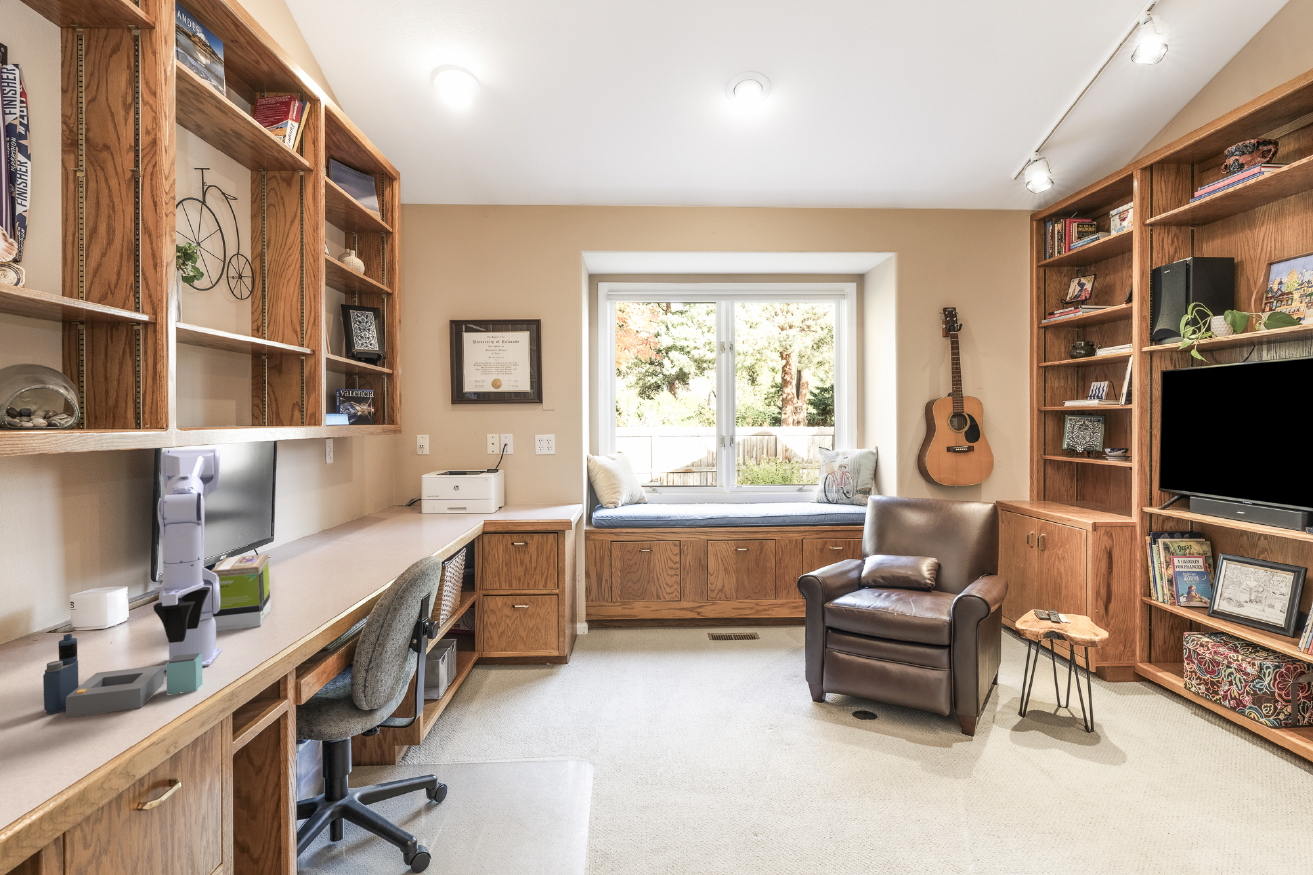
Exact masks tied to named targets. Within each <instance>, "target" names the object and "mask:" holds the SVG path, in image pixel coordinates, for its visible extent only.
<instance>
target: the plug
mask: <svg viewBox="0 0 1313 875" xmlns="http://www.w3.org/2000/svg"><path fill="white" fill-rule="evenodd" d="M165 665H166V695H167V694H172V695H177V694H176V693H180V692H188V693H195V692H194V691H196V692H198V690H199V687H200V688H201V687H202V685H203V666H202V654H199V653H196V654H187V655H178V656H174V657H173V658H172V659H171V660H170V661H169V660H168V661H167V662H166V663H165ZM192 691H193V692H192ZM180 694H181V693H180Z"/></svg>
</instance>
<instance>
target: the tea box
mask: <svg viewBox="0 0 1313 875" xmlns="http://www.w3.org/2000/svg"><path fill="white" fill-rule="evenodd" d="M269 558H270V557H269V554H268V553H267V554H258V555H257V554H256V555H243V556H231V557H224V558H223V559H222V560H221V561H220V562H219V563H217V565H216V566H215V567H213V568H212V569H210V571H211V572H213V573H215V574H217V577H219V585H220V610H219V611H218V612H217V613H216V614H214V613H213V618H214V619H215V622H216V633H217V632H225V631H232V630H244V629H250V628H251V629H252V628H257V627H258V628H259V627H261V626H262V624H263V623H264V621H265V619H266V618H267V616H268V615H269V612H270V611H271V609H272V608H271V606H272V605H271V587H270V586H271V584H270V559H269Z"/></svg>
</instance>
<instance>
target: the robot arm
mask: <svg viewBox="0 0 1313 875" xmlns="http://www.w3.org/2000/svg"><path fill="white" fill-rule="evenodd" d="M220 460H221V459H220V451H219V449H217V448H212V449H171V450H170V449H164V451H162V453H161V459H160V465H161V466H160V468H161V476H162V478H163V479H162V481H163V486H164V488H165V493H164V497H159V499H158V503H157V520H158V524H159V530H160V538H162V541H161V544H162V546H161V547H162V582H161V583H160V585H157V586H154V591H155V592H159V594H158V602H157V603H155V604H154V605H153V612H155V614H156V615H157V616H158V618H159V620H160V621H161V622H162V625H163V627H164V632H165V634H166V638H167V641H168V662H169V661H170V660H171V659H172V658H173V657H174V656H178V655H187V654H196V653H199V654H202V667H208V666H210V665H211V664H212V663H213V662H214V661H215V659H216V658H217V657H218V656H219V655H220V653H222V651H223V649H222V648H221V647H219V648H217V632H216V622H215V619H214V618H213V613H214V614H216V613H217V612H218V611H219V610H220V585H219V577H217V574H215V573H213V572H211V570H209V569H208V568H206V567H204V566H205V565H204V564H205V563H204V562H205V558H204V557H205V507H206V503H207V500H208V497H209V495H210V494H212V493H213V492H216V491H217V490H218V488H219V487H218V486H219V485H220V475H221V474H220V473H221V471H220V470H221V469H220V468H221V467H220V466H221V464H220V463H221V462H220ZM165 671H166V664H165V665H164V672H165Z"/></svg>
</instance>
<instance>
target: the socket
mask: <svg viewBox="0 0 1313 875" xmlns="http://www.w3.org/2000/svg"><path fill="white" fill-rule="evenodd" d="M164 666H165V665H164V664H162V665H155V666H153V665H152V666H144V667H135V668H127V669H118V670H110V671H109V670H108V671H101V672H95V673H94V674H93V675H91V677H89V678H87V680H85V681H84V682H83V683H82V684H81V685H80V684H79V687H78V688H77V689H75V690H74V691H73V692H72V693H70V694H69V695H68V696H67V697H66V709H65V718H66V719H67V718H74V717H83V716H90V715H99V714H105V713H113V711H114V712H120V711H121V710H122V711H128V710H135V708H137V709H141V708H142V707H144V705H145V704H146V703H147V702H148V701H149V700H150V699H151V698H152V697H153V696H154V695H155V693H156V692H157V691H158V690H160V688H161V687H162V686H163V685H164V684H165V675H164V674H165V673H164V672H165V671H164ZM151 696H152V697H151ZM149 698H150V699H149ZM148 699H149V700H148ZM147 700H148V701H147ZM145 702H146V703H145Z"/></svg>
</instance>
